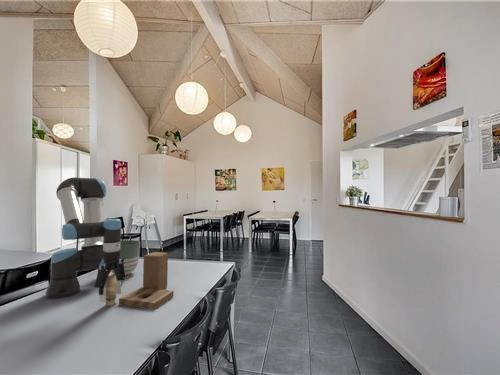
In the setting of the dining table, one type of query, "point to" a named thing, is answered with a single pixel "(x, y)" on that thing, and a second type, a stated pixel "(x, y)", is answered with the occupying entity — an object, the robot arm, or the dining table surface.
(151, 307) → the seat board
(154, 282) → the wooden block
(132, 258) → the planter
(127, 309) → the dining table surface
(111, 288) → the peg
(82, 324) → the dining table surface
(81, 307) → the dining table surface
